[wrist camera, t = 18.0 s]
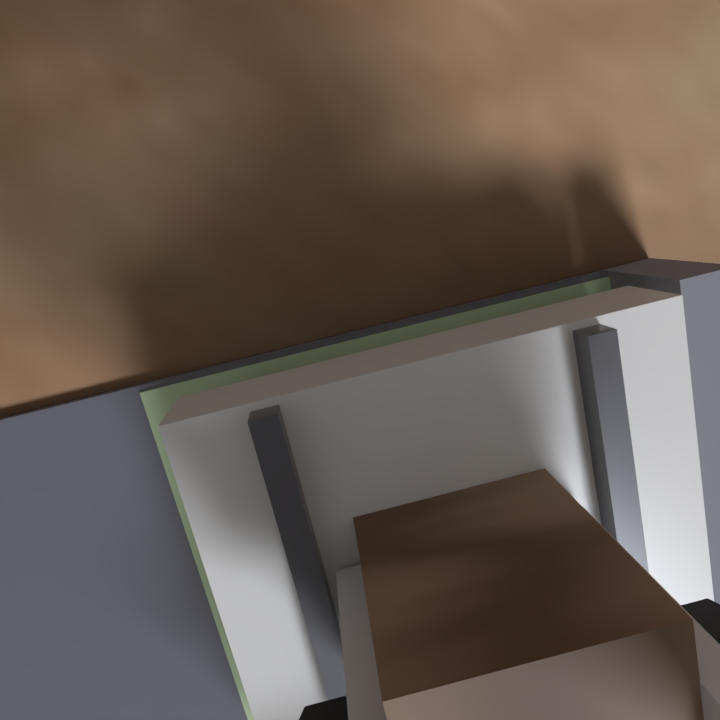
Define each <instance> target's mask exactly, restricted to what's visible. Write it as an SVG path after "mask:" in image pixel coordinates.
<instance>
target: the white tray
mask: <svg viewBox="0 0 720 720" xmlns="http://www.w3.org/2000/svg"><path fill="white" fill-rule="evenodd" d="M158 428H159V431H160V434H161V437H162V440H163V443H164V446H165V449H166V452H167V455H168V458H169V462H170V465H171V468H172V471H173V474H174V477H175V480H176V483H177V486H178V489H179V492H180V495H181V498H182V501H183V504H184V507H185V510H186V513H187V516H188V520H189V523H190V526H191V529H192V532H193V535H194V538H195V541H196V544H197V547H198V550H199V553H200V556H201V559H202V562H203V565H204V568H205V571H206V574H207V577H208V581H209V584H210V587H211V590H212V593H213V596H214V599H215V602H216V605H217V608H218V611H219V614H220V617H221V620H222V623H223V626H224V629H225V632H226V635H227V639H228V642H229V645H230V648H231V651H232V654H233V657H234V660H235V663H236V666H237V669H238V672H239V675H240V678H241V681H242V684H243V687H244V690H245V693H246V697H247V700H248V703H249V706H250V709H251V712H252V715H253V718H254V720H299V718H300V716H301V714H302V711H303V709H304V707H305V706H308V705H312V704H316V703H320V702H323V701H327V700H331V699H335V698H339V697H342V696H346V686H345V674H344V662H343V650H342V638H341V626H340V615H339V603H338V591H337V579H336V571H337V570H340V569H344V568H348V567H352V566H356V565H360V558H359V552H358V545H357V539H356V533H355V527H354V520H353V517H357V516H361V515H364V514H368V513H372V512H376V511H380V510H384V509H388V508H392V507H396V506H400V505H404V504H408V503H412V502H415V501H419V500H423V499H427V498H431V497H435V496H439V495H443V494H447V493H451V492H455V491H459V490H462V489H466V488H470V487H474V486H478V485H482V484H486V483H490V482H494V481H498V480H502V479H506V478H509V477H513V476H517V475H521V474H525V473H529V472H533V471H537V470H541V469H546V470H547V471H548V472H549V473H550V474H551V475H552V476H553V477H554V478H555V479H556V480H557V481H558V482H559V483H560V484H561V486H562V487H563V488H564V489H565V490H566V491H567V492H568V493H569V494H570V495H571V496H572V497H573V498H574V499H575V500H576V501H577V502H578V503H579V504H580V505H581V506H582V507H584V508H585V509H586V510H587V511H588V512H589V513H590V514H591V515H592V516H593V517H594V518H595V519H596V520H597V521H598V522H599V523H600V524H601V525H602V526H603V527H604V528H605V529H606V530H607V531H608V532H609V533H610V534H611V535H612V536H613V537H614V538H615V539H616V540H617V541H618V542H619V543H620V544H621V545H622V546H623V548H624V549H625V550H626V551H627V552H628V553H629V554H630V555H631V556H632V557H633V558H634V559H635V560H636V561H637V562H638V563H639V564H640V565H641V566H642V567H643V568H644V569H645V570H646V571H647V572H648V573H649V574H650V575H651V576H652V577H653V578H654V579H655V580H656V581H657V582H658V583H659V584H660V585H661V586H662V587H663V588H664V589H665V590H666V591H667V592H668V593H669V594H670V595H671V596H672V597H673V598H674V599H675V600H676V601H677V602H678V603H679V604H680V605H684V604H688V603H692V602H695V601H699V600H703V599H707V598H708V599H710V600H712V601H714V595H713V585H712V575H711V566H710V556H709V546H708V537H707V527H706V517H705V508H704V498H703V488H702V479H701V469H700V459H699V450H698V440H697V430H696V421H695V411H694V401H693V392H692V382H691V372H690V363H689V353H688V343H687V334H686V324H685V314H684V305H683V295H680V294H674V293H668V292H662V291H656V290H651V289H645V288H639V287H633V286H624V287H620V288H616V289H612V290H608V291H604V292H600V293H596V294H592V295H588V296H584V297H580V298H576V299H572V300H568V301H564V302H560V303H556V304H551V305H547V306H543V307H539V308H535V309H531V310H527V311H523V312H519V313H515V314H511V315H507V316H503V317H499V318H495V319H491V320H487V321H483V322H479V323H475V324H471V325H467V326H463V327H459V328H455V329H451V330H447V331H443V332H439V333H435V334H431V335H427V336H423V337H419V338H415V339H411V340H407V341H403V342H399V343H394V344H390V345H386V346H382V347H378V348H374V349H370V350H366V351H362V352H358V353H354V354H350V355H346V356H342V357H338V358H334V359H330V360H326V361H322V362H318V363H314V364H310V365H306V366H302V367H298V368H294V369H290V370H286V371H282V372H278V373H274V374H270V375H266V376H262V377H258V378H254V379H250V380H246V381H241V382H237V383H233V384H229V385H225V386H221V387H217V388H213V389H209V390H205V391H201V392H197V393H193V394H189V395H185V396H181V397H178V399H177V400H176V401H175V403H174V404H173V406H172V407H171V409H170V410H169V411H168V413H167V414H166V416H165V417H164V418H163V420H162V421H161V423H160V424H159V426H158Z"/></svg>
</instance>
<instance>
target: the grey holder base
mask: <svg viewBox="0 0 720 720" xmlns="http://www.w3.org/2000/svg"><path fill="white" fill-rule="evenodd" d="M624 286H633V287H639V288H645V289H651V290H656V291H662V292H668V293H674V294H680V295H683V305H684V314H685V324H686V334H687V343H688V353H689V363H690V372H691V382H692V392H693V401H694V411H695V421H696V430H697V440H698V450H699V459H700V469H701V479H702V488H703V498H704V508H705V517H706V527H707V537H708V546H709V556H710V566H711V575H712V585H713V595H714V602H716V603H718V604H720V264H714V263H702V262H690V261H678V260H666V259H654V258H648V259H644V260H640V261H636V262H632V263H628V264H624V265H620V266H616V267H612V268H608V269H604V270H600V271H596V272H591V273H587V274H583V275H579V276H575V277H571V278H567V279H563V280H559V281H555V282H551V283H547V284H543V285H539V286H535V287H531V288H527V289H523V290H518V291H514V292H510V293H506V294H502V295H498V296H494V297H490V298H486V299H482V300H478V301H474V302H470V303H466V304H462V305H458V306H454V307H449V308H445V309H441V310H437V311H433V312H429V313H425V314H421V315H417V316H413V317H409V318H405V319H401V320H397V321H393V322H389V323H385V324H381V325H376V326H372V327H368V328H364V329H360V330H356V331H352V332H348V333H344V334H340V335H336V336H332V337H328V338H324V339H320V340H316V341H312V342H308V343H303V344H299V345H295V346H291V347H287V348H283V349H279V350H275V351H271V352H267V353H263V354H259V355H255V356H251V357H247V358H243V359H239V360H234V361H230V362H226V363H222V364H218V365H214V366H210V367H206V368H202V369H198V370H194V371H190V372H186V373H182V374H178V375H174V376H170V377H166V378H161V379H157V380H153V381H149V382H145V383H141V384H137V385H133V386H129V387H125V388H121V389H117V390H113V391H109V392H105V393H101V394H97V395H93V396H88V397H84V398H80V399H76V400H72V401H68V402H64V403H60V404H56V405H52V406H48V407H44V408H40V409H36V410H32V411H28V412H24V413H19V414H15V415H11V416H7V417H3V418H0V720H254V718H253V715H252V712H251V709H250V706H249V703H248V700H247V697H246V693H245V690H244V687H243V684H242V681H241V678H240V675H239V672H238V669H237V666H236V663H235V660H234V657H233V654H232V651H231V648H230V645H229V642H228V639H227V635H226V632H225V629H224V626H223V623H222V620H221V617H220V614H219V611H218V608H217V605H216V602H215V599H214V596H213V593H212V590H211V587H210V584H209V581H208V577H207V574H206V571H205V568H204V565H203V562H202V559H201V556H200V553H199V550H198V547H197V544H196V541H195V538H194V535H193V532H192V529H191V526H190V523H189V520H188V516H187V513H186V510H185V507H184V504H183V501H182V498H181V495H180V492H179V489H178V486H177V483H176V480H175V477H174V474H173V471H172V468H171V465H170V462H169V458H168V455H167V452H166V449H165V446H164V443H163V440H162V437H161V434H160V431H159V428H158V426H159V424H160V423H161V421H162V420H163V418H164V417H165V416H166V414H167V413H168V411H169V410H170V409H171V407H172V406H173V404H174V403H175V401H176V400H177V399H178V397H181V396H185V395H189V394H193V393H197V392H201V391H205V390H209V389H213V388H217V387H221V386H225V385H229V384H233V383H237V382H241V381H246V380H250V379H254V378H258V377H262V376H266V375H270V374H274V373H278V372H282V371H286V370H290V369H294V368H298V367H302V366H306V365H310V364H314V363H318V362H322V361H326V360H330V359H334V358H338V357H342V356H346V355H350V354H354V353H358V352H362V351H366V350H370V349H374V348H378V347H382V346H386V345H390V344H394V343H399V342H403V341H407V340H411V339H415V338H419V337H423V336H427V335H431V334H435V333H439V332H443V331H447V330H451V329H455V328H459V327H463V326H467V325H471V324H475V323H479V322H483V321H487V320H491V319H495V318H499V317H503V316H507V315H511V314H515V313H519V312H523V311H527V310H531V309H535V308H539V307H543V306H547V305H551V304H556V303H560V302H564V301H568V300H572V299H576V298H580V297H584V296H588V295H592V294H596V293H600V292H604V291H608V290H612V289H616V288H620V287H624Z"/></svg>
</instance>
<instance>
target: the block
mask: <svg viewBox="0 0 720 720" xmlns="http://www.w3.org/2000/svg"><path fill="white" fill-rule="evenodd" d="M353 520H354V527H355V533H356V539H357V545H358V552H359V558H360V564H361V571H362V577H363V583H364V589H365V596H366V602H367V608H368V615H369V621H370V627H371V634H372V640H373V646H374V652H375V659H376V665H377V671H378V678H379V684H380V690H381V697H382V702H383V706H384V710H385V714H386V717H387V720H704V715H703V707H702V698H701V689H700V676H699V667H698V658H697V650H696V641H695V632H694V624H693V619H692V618H691V617H690V616H689V615H688V614H687V613H686V612H685V611H684V610H683V609H682V608H681V607H680V606H679V605H678V603H677V602H676V601H675V600H674V599H673V598H672V597H671V596H670V595H669V594H668V593H667V592H666V591H665V590H664V589H663V588H662V587H661V586H660V585H659V584H658V583H657V582H656V581H655V580H654V579H653V578H652V577H651V576H650V575H649V574H648V573H647V572H646V571H645V570H644V569H643V568H642V567H641V566H640V565H639V564H638V563H637V562H636V561H635V560H634V559H633V558H632V557H631V556H630V555H629V554H628V553H627V552H626V551H625V550H624V549H623V548H622V547H621V546H620V544H619V543H618V542H617V541H616V540H615V539H614V538H613V537H612V536H611V535H610V534H609V533H608V532H607V531H606V530H605V529H604V528H603V527H602V526H601V525H600V524H599V523H598V522H597V521H596V520H595V519H594V518H593V517H592V516H591V515H590V514H589V513H588V512H587V511H586V510H585V509H584V508H583V507H582V506H581V505H580V504H579V503H578V502H577V501H576V500H575V499H574V498H573V497H572V496H571V495H570V494H569V493H568V492H567V491H566V490H565V489H564V488H563V487H562V486H561V484H560V483H559V482H558V481H557V480H556V479H555V478H554V477H553V476H552V475H551V474H550V473H549V472H548V471H547V470H546V469H541V470H537V471H533V472H529V473H525V474H521V475H517V476H513V477H509V478H506V479H502V480H498V481H494V482H490V483H486V484H482V485H478V486H474V487H470V488H466V489H462V490H459V491H455V492H451V493H447V494H443V495H439V496H435V497H431V498H427V499H423V500H419V501H415V502H412V503H408V504H404V505H400V506H396V507H392V508H388V509H384V510H380V511H376V512H372V513H368V514H364V515H361V516H357V517H353Z"/></svg>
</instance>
